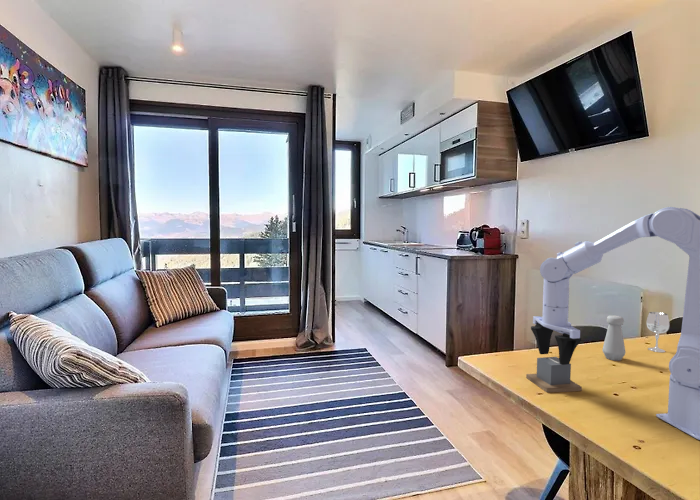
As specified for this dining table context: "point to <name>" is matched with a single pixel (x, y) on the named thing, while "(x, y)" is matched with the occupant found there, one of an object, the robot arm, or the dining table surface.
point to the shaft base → (553, 388)
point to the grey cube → (553, 371)
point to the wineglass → (657, 326)
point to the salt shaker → (614, 339)
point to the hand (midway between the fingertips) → (553, 358)
